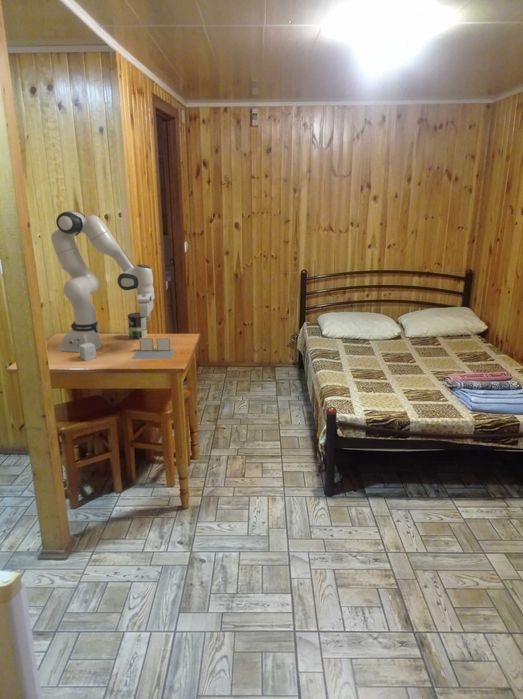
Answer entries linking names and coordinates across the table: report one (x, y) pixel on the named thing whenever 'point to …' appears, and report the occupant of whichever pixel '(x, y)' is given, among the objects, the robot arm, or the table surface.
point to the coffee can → (137, 326)
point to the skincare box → (87, 351)
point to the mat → (153, 354)
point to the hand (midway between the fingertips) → (148, 320)
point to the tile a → (146, 344)
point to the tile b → (163, 344)
